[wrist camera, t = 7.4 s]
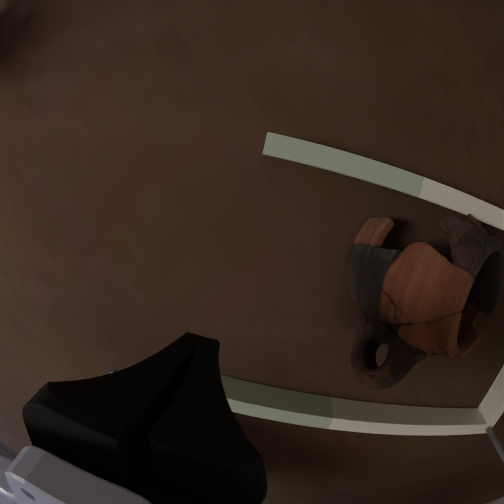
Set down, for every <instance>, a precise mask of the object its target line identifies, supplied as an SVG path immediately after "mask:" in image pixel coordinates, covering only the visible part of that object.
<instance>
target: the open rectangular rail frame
mask: <svg viewBox="0 0 504 504" xmlns="http://www.w3.org/2000/svg"><path fill="white" fill-rule="evenodd" d="M263 154H264V155H266V156H271V157H275V158H279V159H284V160H288V161H292V162H296V163H300V164H304V165H308V166H312V167H316V168H320V169H324V170H327V171H331V172H335V173H338V174H342V175H346V176H349V177H353V178H356V179H359V180H363V181H366V182H370V183H373V184H376V185H379V186H383V187H386V188H389V189H392V190H395V191H398V192H401V193H404V194H407V195H410V196H413V197H416V198H419V199H422V200H425V201H428V202H431V203H434V204H436V205H439V206H442V207H445V208H447V209H450V210H453V211H455V212H458V213H461V214H463V215H466V216H467V215H468V214H472V216H473V217H475V218H476V219H477V220H479V221H481V222H484V223H486V224H488V225H491V226H493V227H496V228H498V229H500V230H503V231H504V210H502V209H500V208H498V207H495V206H493V205H491V204H489V203H487V202H484V201H482V200H480V199H477V198H475V197H473V196H470V195H468V194H466V193H463V192H461V191H458V190H456V189H453V188H451V187H448V186H446V185H443V184H441V183H438V182H436V181H433V180H430V179H428V178H425V177H422V176H419V175H417V174H414V173H411V172H408V171H405V170H402V169H399V168H397V167H394V166H391V165H388V164H384V163H381V162H378V161H375V160H372V159H369V158H365V157H362V156H359V155H355V154H352V153H349V152H345V151H342V150H338V149H335V148H331V147H327V146H323V145H320V144H316V143H312V142H308V141H304V140H300V139H296V138H292V137H287V136H283V135H279V134H274V133H270V132H268V133H267V137H266V141H265V146H264V150H263ZM221 380H222V384H223V388H224V391H225V394H226V397H227V400H228V403H229V405H230V408H231V410H232V412H236V413H240V414H245V415H249V416H254V417H259V418H264V419H269V420H274V421H280V422H285V423H291V424H297V425H304V426H310V427H317V428H325V429H333V430H342V431H352V432H363V433H376V434H394V435H463V434H480V433H487V434H488V436H489V438H490V439H491V441H492V443H493V445H494V446H495V448H496V450H497V452H498V454H499V455H500V457H501V459H502V461H503V463H504V449H503V447H502V445H501V444H500V442H499V440H498V439H497V437H496V435H495V434H494V432H493V430H492V427H493V426H494V424H495V423H496V422H497V420H498V419H499V417H500V416H501V415H502V413H503V412H504V365H503V367H502V369H501V371H500V372H499V374H498V376H497V378H496V379H495V381H494V383H493V384H492V386H491V388H490V389H489V391H488V393H487V394H486V396H485V397H484V399H483V401H482V402H481V404H480V405H479V407H478V408H436V407H418V406H404V405H392V404H382V403H372V402H363V401H355V400H348V399H340V398H334V397H327V396H321V395H314V394H309V393H303V392H297V391H292V390H287V389H281V388H276V387H272V386H267V385H262V384H257V383H253V382H249V381H244V380H240V379H236V378H232V377H228V376H224V375H221Z"/></svg>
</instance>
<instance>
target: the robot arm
mask: <svg viewBox="0 0 504 504" xmlns="http://www.w3.org/2000/svg"><path fill="white" fill-rule="evenodd" d="M219 347H220V343H219V341H218V340H215V339H211V338H207V337H203V336H200V335H196V334H193V333H189V332H187V333H185V334H184V335H182V336H181V337H179V338H178V339H177V340H175V341H174V342H173V343H171V344H170V345H168V346H167V347H165V348H164V349H162V350H160V351H159V352H157V353H156V354H154V355H152V356H150V357H149V358H147V359H145V360H143V361H141V362H139V363H137V364H135V365H133V366H130V367H128V368H125V369H123V370H120V371H117V372H110V373H109V374H106V375H103V376H99V377H94V378H89V379H83V380H75V381H61V382H48V383H46V384H45V385H44V386H43V387H42V388H41V389H40V390H39V391H38V392H37V393H36V394H35V395H34V396H33V397H32V398H31V399H30V400H29V401H28V403H27V404H26V405H25V406H24V407H23V411H22V414H23V419H24V423H25V426H26V429H27V431H28V434H29V437H30V439H31V442H32V446H27V447H24V448H23V449H22V450H21V452H20V453H18V452H16V451H15V450H13V449H12V448H10V447H9V446H7V445H6V444H4V443H3V442H2V441H0V504H262V502H263V500H264V499H265V497H266V493H267V478H266V472H265V467H264V463H263V458H262V456H261V455H260V453H259V452H258V451H257V450H256V449H255V447H254V446H253V445H252V444H251V442H250V441H249V440H248V438H247V437H246V435H245V434H244V432H243V431H242V429H241V427H240V425H239V424H238V422H237V420H236V418H235V416H234V414H233V412H232V410H231V408H230V405H229V403H228V400H227V397H226V394H225V391H224V388H223V384H222V380H221V375H220V368H219V358H218V352H219Z"/></svg>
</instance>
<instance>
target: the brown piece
mask: <svg viewBox="0 0 504 504" xmlns="http://www.w3.org/2000/svg"><path fill="white" fill-rule="evenodd" d="M467 219H468V220H469V222H468V221H466V220H459V219H458V218H457V217H455V216H453V215H449V216H446V217H444V218H441V219H440V220H439V221H438V226H439V227H440V228H441V229H442V230H443V231H444V232H445V233H447V238H448V240H449V243H450V247H451V256H452V263H451V262H449V260H448V259H447V258H446V257H444V256H442V255H441V254H440V253H439V252H438V251H437V250H435V249H434V248H433V247H432V246H431V245H429V244H428V243H427V242H415V243H411V244H410V245H408V246H407V247H406V248H405V249H404V250H403V251H402V252H401V251H400V250H397V249H385V248H381V246H382V244H383V242H384V239H385V238H386V236H387V235H388V233H389V232H390V230H391V229H392V227H393V226H394V221H393V220H392V219H391V218H389V217H370V218H369V219H368V220H367V221H366V222H365V223H364V224H363V226H362V227H361V229H360V230H359V232H358V234H357V236H356V238H355V240H354V243H353V245H352V247H351V250H350V253H349V257H348V259H347V269H346V281H347V285H348V288H349V291H350V294H351V296H352V297H353V299H354V300H355V302H356V304H357V306H358V308H359V309H360V311H361V313H362V315H363V316H362V317H361V324H360V328H359V330H358V332H357V335H356V337H355V340H354V343H353V346H352V351H351V366H352V369H353V373H354V376H355V377H356V381H357V382H360V383H364V385H365V386H366V387H368V388H372V389H376V390H380V389H386V388H389V387H392V386H394V385H395V384H397V383H398V382H399V381H400V380H401V379H402V378H403V377H405V375H406V374H407V373H408V372H409V371H410V369H411V368H412V367H413V366H414V365H415V364H416V363H418V362H419V361H421V360H423V359H424V358H426V356H427V353H429V354H431V356H436V355H441V354H444V355H446V356H448V357H449V359H451V360H458V359H461V358H463V357H464V356H466V355H467V353H469V352H470V351H471V350H472V349H473V347H474V346H475V345H476V344H477V343H478V341H479V339H480V338H481V336H482V332H481V331H479V330H477V329H475V328H473V326H474V324H475V323H476V321H477V319H478V316H479V314H480V311H482V312H483V313H484V314H486V315H487V316H488V317H489V318H492V316H493V314H494V312H495V310H496V308H497V305H498V302H499V299H500V296H501V293H502V288H503V284H504V242H503V241H502V240H501V238H494V237H490V236H489V235H488V234H487V231H486V230H485V228H484V227H483V226H482V225H481V223H480V222H479V221H478V220H477V219H476V218H475V217H473V216H472V214H468V215H467ZM478 272H479V276H478V278H477V281H476V283H475V284H474V286H473V288H472V289H471V287H472V285H473V283H474V279H475V277H476V276H477V274H478ZM470 290H471V292H470ZM469 292H470V293H469ZM388 322H389V323H393V324H398V327H397V333H396V332H395V331H394V329H393V328H392V327H391V326H390V325H389V323H388ZM459 325H460V326H462V327H461V329H460V330H459ZM458 330H459V331H458ZM381 344H389V351H388V354H387V357H386V359H385V361H384V363H383V364H382V365H381V366H380V367H378V366H377V363H376V351H377V348H378V347H379V346H380V345H381Z"/></svg>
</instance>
